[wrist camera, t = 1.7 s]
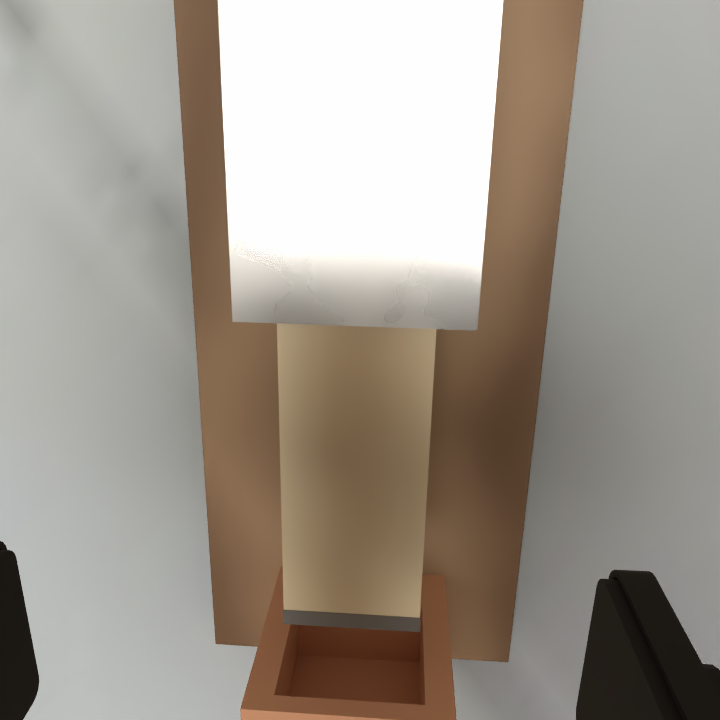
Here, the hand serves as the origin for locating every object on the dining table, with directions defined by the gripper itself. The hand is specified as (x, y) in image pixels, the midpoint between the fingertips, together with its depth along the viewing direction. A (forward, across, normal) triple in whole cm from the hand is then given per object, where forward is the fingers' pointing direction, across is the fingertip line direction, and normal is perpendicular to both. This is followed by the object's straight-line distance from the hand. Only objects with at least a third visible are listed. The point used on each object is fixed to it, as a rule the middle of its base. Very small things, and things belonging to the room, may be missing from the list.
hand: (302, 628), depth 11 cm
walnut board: (+15, 0, 0) cm, 15 cm away
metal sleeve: (+14, 0, -7) cm, 16 cm away
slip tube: (+12, 0, -2) cm, 12 cm away
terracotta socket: (+13, 0, +11) cm, 17 cm away
